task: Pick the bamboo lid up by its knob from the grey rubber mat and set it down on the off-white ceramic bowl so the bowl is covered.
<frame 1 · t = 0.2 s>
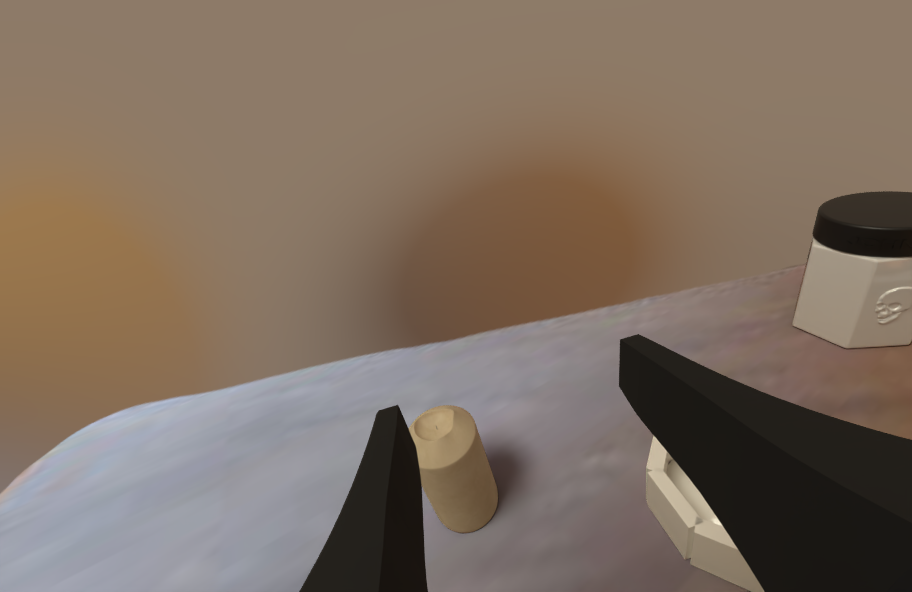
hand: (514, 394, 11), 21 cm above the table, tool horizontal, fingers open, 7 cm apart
jar: (846, 324, 36), on the table
bowl: (730, 506, 26), on the table
candle: (467, 500, 31), on the table
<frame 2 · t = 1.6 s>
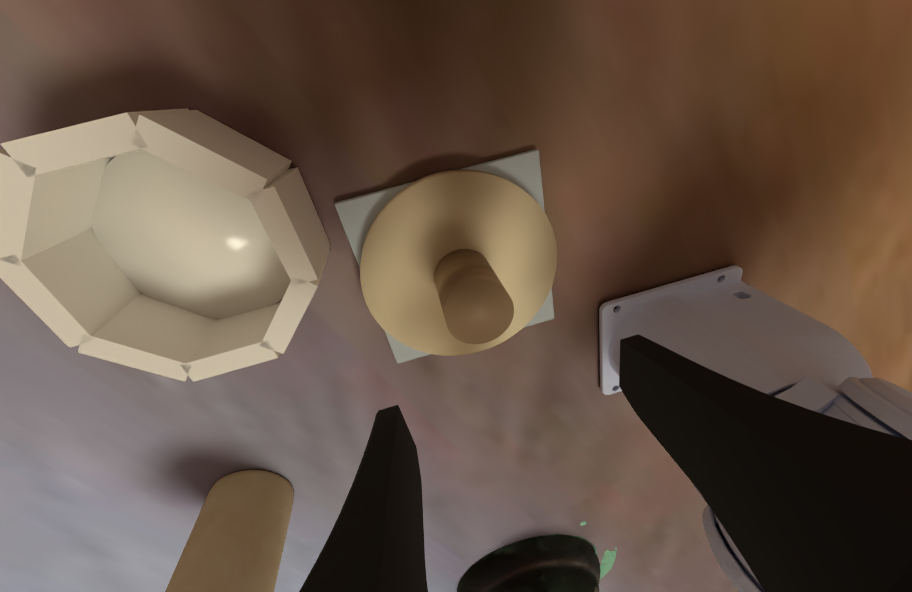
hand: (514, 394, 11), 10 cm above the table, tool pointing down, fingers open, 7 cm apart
bowl: (210, 235, 17), on the table
candle: (254, 491, 26), on the table
black rounded piece: (528, 570, 40), on the table
mat: (458, 266, 20), on the table
lid: (459, 269, 20), resting on mat
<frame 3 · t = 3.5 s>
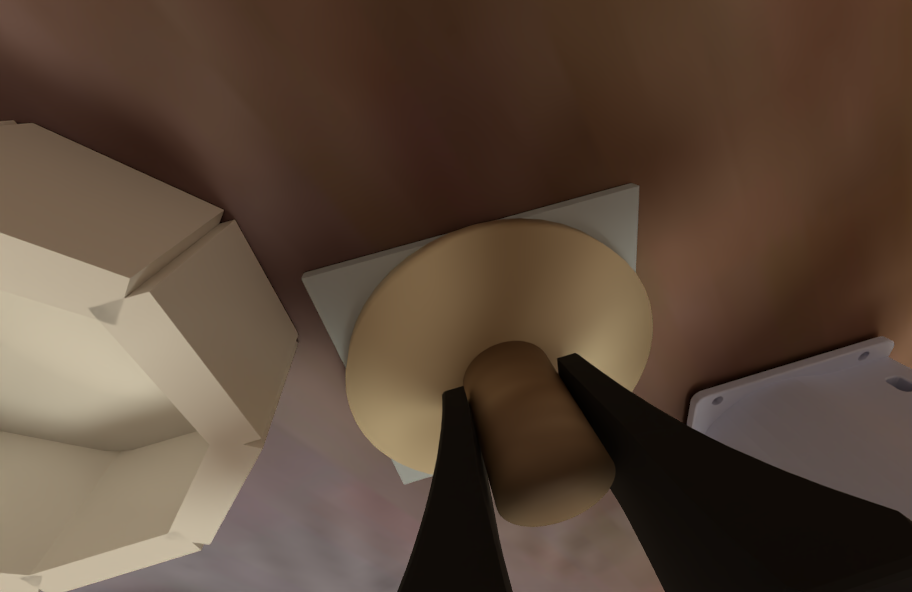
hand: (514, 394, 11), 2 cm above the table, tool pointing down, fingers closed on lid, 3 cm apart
bowl: (93, 330, 10), on the table
mat: (497, 355, 13), on the table
lid: (500, 362, 13), resting on mat, touching gripper
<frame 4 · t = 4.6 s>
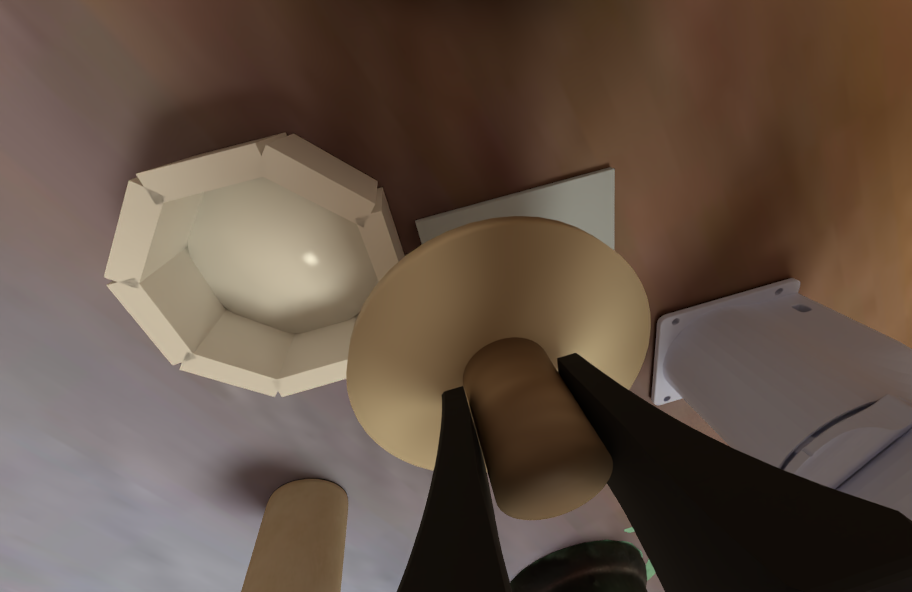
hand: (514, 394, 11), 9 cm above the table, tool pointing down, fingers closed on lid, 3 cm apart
bowl: (294, 253, 17), on the table
candle: (309, 499, 26), on the table
black rounded piece: (573, 575, 40), on the table
mat: (525, 281, 20), on the table
lid: (499, 358, 13), point 7 cm above the table, touching gripper
when the fingers open (7 cm above the table, at t = 6.1 s): lid drops 1 cm, resting on bowl.
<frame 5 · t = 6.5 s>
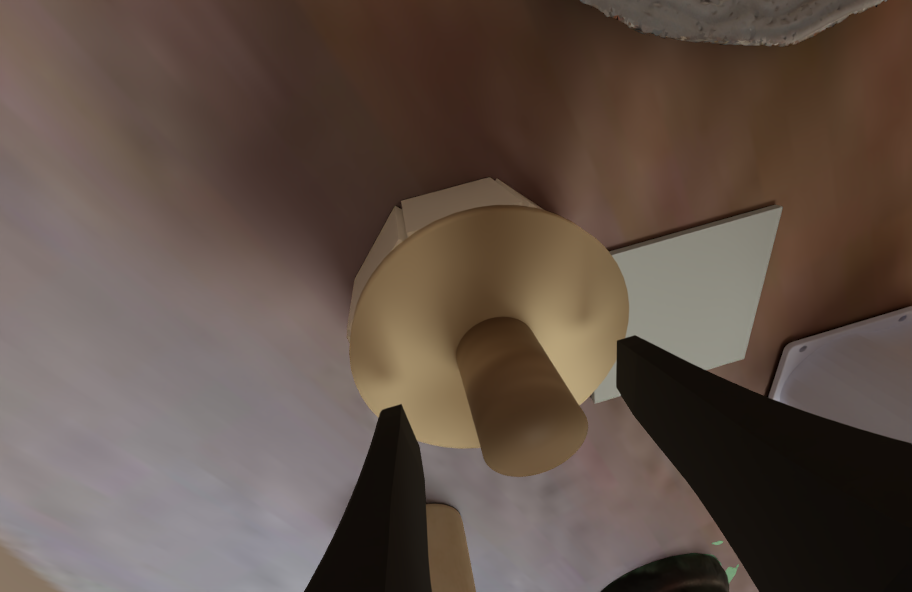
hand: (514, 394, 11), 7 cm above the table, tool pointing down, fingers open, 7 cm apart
bowl: (469, 291, 17), on the table, touching lid
candle: (424, 522, 26), on the table
black rounded piece: (652, 586, 41), on the table
mat: (673, 312, 20), on the table
lid: (490, 338, 14), point 4 cm above the table, touching bowl
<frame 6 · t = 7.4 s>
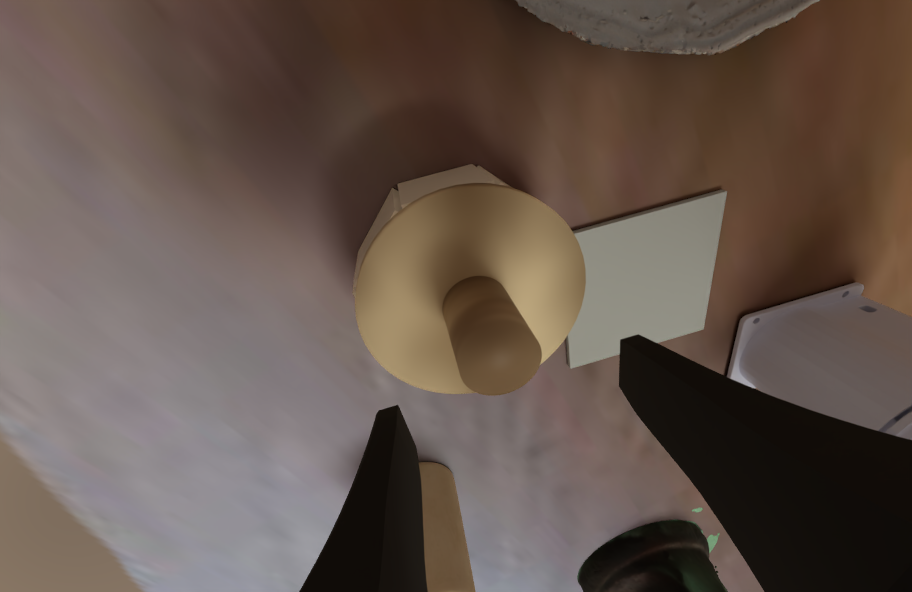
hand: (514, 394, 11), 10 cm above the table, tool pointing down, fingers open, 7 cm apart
bowl: (456, 263, 20), on the table, touching lid
candle: (420, 481, 29), on the table
black rounded piece: (639, 553, 44), on the table
mat: (637, 286, 23), on the table
lid: (471, 297, 17), point 4 cm above the table, touching bowl
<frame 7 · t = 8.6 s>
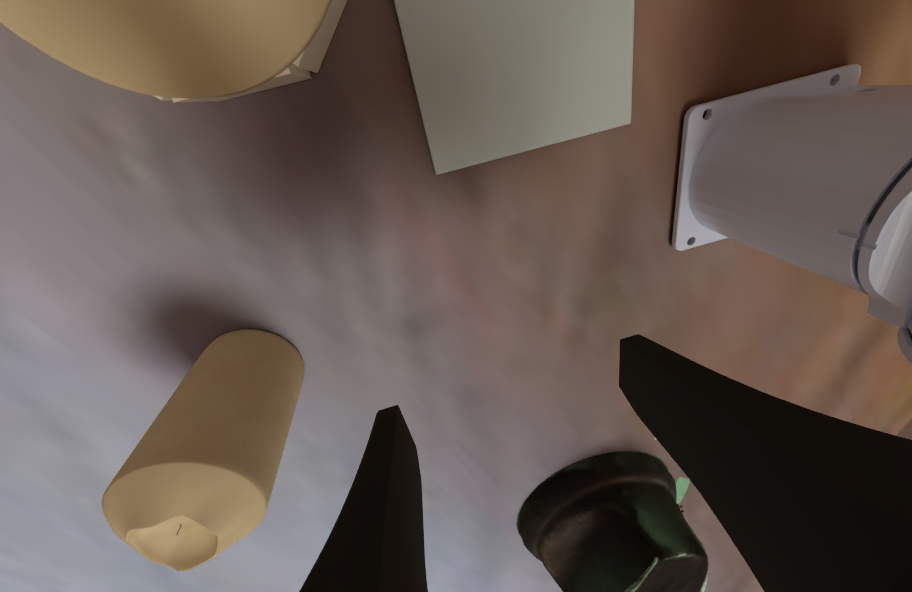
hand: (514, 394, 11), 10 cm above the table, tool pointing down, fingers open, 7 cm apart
candle: (256, 364, 22), on the table
black rounded piece: (593, 499, 36), on the table
mat: (519, 26, 16), on the table
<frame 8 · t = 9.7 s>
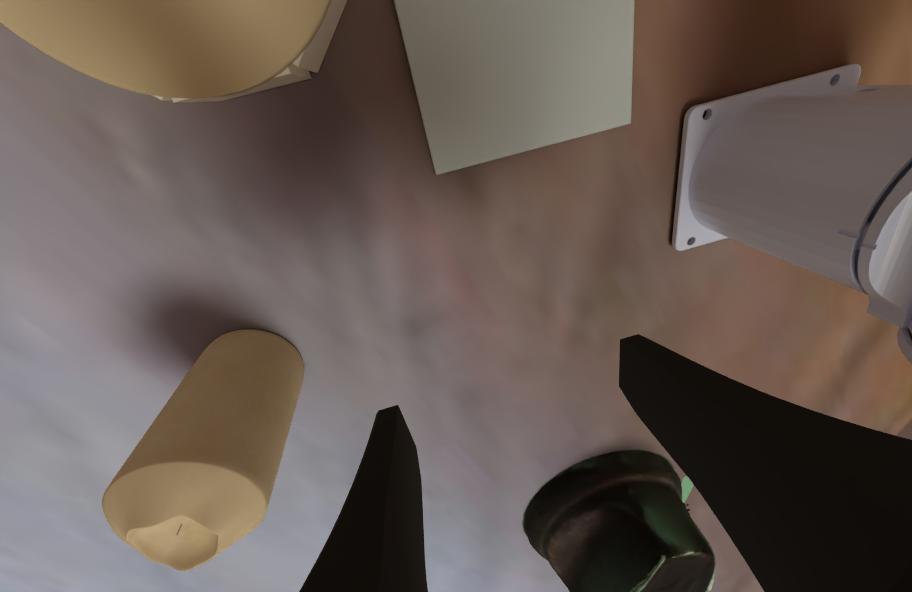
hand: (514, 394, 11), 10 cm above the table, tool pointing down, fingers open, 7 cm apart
candle: (256, 364, 22), on the table
black rounded piece: (598, 498, 36), on the table
mat: (519, 26, 16), on the table
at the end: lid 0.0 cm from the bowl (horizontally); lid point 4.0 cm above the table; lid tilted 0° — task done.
